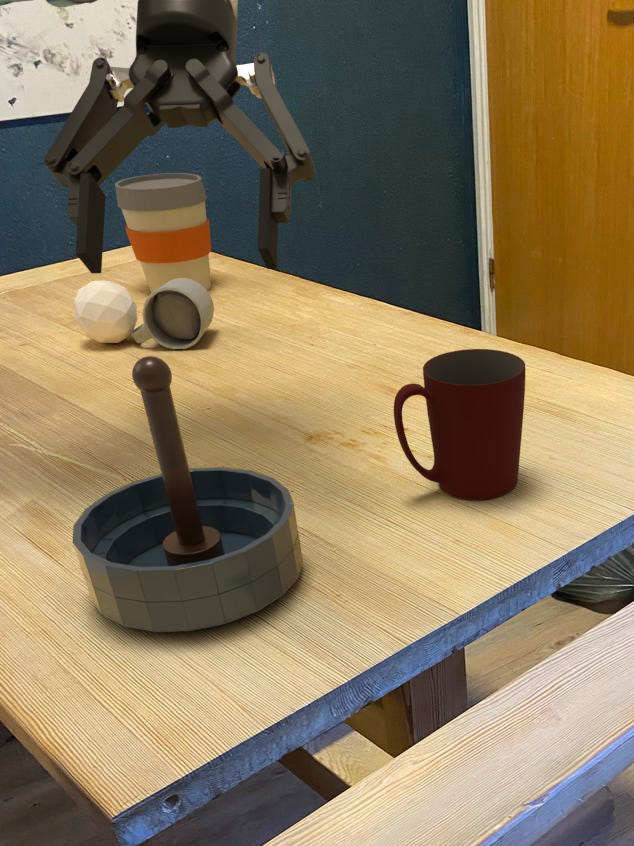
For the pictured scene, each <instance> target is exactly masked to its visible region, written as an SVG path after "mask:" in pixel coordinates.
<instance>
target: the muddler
mask: <svg viewBox="0 0 634 846" xmlns="http://www.w3.org/2000/svg"><path fill="white" fill-rule="evenodd" d="M131 378H132V382H133V383H134V385H135V387H136V388H137V389H138V390H139V391H140V395H141V398H142V402H143V406H144V409H145V415H146V418H147V423H148V426H149V430H150V431H149V432H150V434H151V439H152V443H153V446H154V450H155V451H154V452H155V454H156V458H157V462H158V467H159V471H160V474H162V478H163V482H164V486H165V490H166V494H167V498H168V502H169V506H170V510H171V514H172V518H173V522H174V526H175V530H176V531H175V532H173V533H171V534H169V535H168V536H167V537H166V538H165V539H164V541H163V549H164V553H165V556H166V560H167V564H168V566H177V565H183V564H188V563H194V562H199V561H205V560H210V559H213V558H216V557H219V556H222V555H225V552H224V548H223V543H222V539H221V534H220V533H219V531H218V530H216V529H214V528H212V527H208V526H202V523H201V518H200V514H199V510H198V505H197V501H196V497H195V492H194V488H193V484H192V479H191V475H190V471H189V469H190V467H189V462H188V458H187V455H186V450H185V445H184V440H183V436H182V432H181V429H180V424H179V420H178V415H177V411H176V407H175V402H174V398H173V394H172V389H171V384H172V381H173V373H172V370H171V368H170V366H169V365H168V364H167V362H165V360H163V359H162V358H160V357H157V356H154V355H147V356H144V357H141V358H140V359H138V360H137V361H136V362H135V364H133V367H132V370H131Z"/></svg>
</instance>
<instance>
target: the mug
mask: <svg viewBox="0 0 634 846" xmlns="http://www.w3.org/2000/svg"><path fill="white" fill-rule="evenodd" d="M422 376H423V385H421V384H418V383H408V384H407V383H406V384H405V385H403V386H401V388H399V390H397V392H396V394H395V397H394V400H393V420H394V421H393V422H394V425H395V426H394V427H395V430H396V431H395V432H396V435H397V438H398V442H399V444H400V446H401V449H402V451H403V453H404V455H405V457H406V459H407V461H408V462H409V464H410V465H411V466H412V467H413V468H414V470H416V472H418V474H419V475H421V476H422V477H424V478H425V479H426V480H428V481H430V482H433V483H437V484H438V486H439V489H440V490H441V491H442V492H444V493H446V494H447V495H449V496H451V497H454V498H458V499H463V500H473V501H475V500H476V501H477V500H489V499H494V498H498V497H501V496H504V495H506V494H508V493H510V492H511V491H512V490H514V489H515V488H516V486H517V485H518V480H519V471H520V460H521V459H520V458H521V448H522V447H521V446H522V434H523V423H524V409H525V397H526V362H525V361H524V359H522V358H521V357H520V356H518V355H516V354H513V353H511V352H507V351H503V350H498V349H488V348H469V349H458V350H454V351H448V352H445V353H444V352H443V353H441V354H438V355H436V356H433V357H432V358H430V359H428V360H427V361H426V362H425V363H424V364H423V366H422ZM414 396H421V397H423V398H424V399H425V404H426V410H427V417H428V418H427V420H428V424H429V431H430V439H431V445H432V452H433V465H432V467H431V468H430V469H427V468H425V467H424V466H422V464H420V463H419V461H418V460H417V459H416V457H415V456H414V453H413V452H412V450H411V447H410V445H409V442H408V439H407V435H406V433H405V427H404V421H403V407H404V404H405V403H406V401H407V400H408V399H409V398H411V397H414Z"/></svg>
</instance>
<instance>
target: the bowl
mask: <svg viewBox="0 0 634 846" xmlns="http://www.w3.org/2000/svg"><path fill="white" fill-rule="evenodd" d="M189 471H190V475H191V479H192V484H193V488H194V492H195V497H196V501H197V505H198V510H199V514H200V518H201V523H202V526H208V527H212V528H214V529H216V530H218V531H219V533H220V534H221V539H222V543H223V548H224V552H225V555H222V556H219V557H216V558H213V559H210V560H205V561H199V562H194V563H188V564H183V565H177V566H168V564H167V560H166V556H165V553H164V549H163V541H164V539H165V538H166V537H167V536H168V535H169V534H171V533H173V532H175V531H176V530H175V526H174V522H173V518H172V514H171V510H170V506H169V502H168V498H167V494H166V490H165V486H164V482H163V478H162V474H161V473H158V474H155V475H151V476H148V477H145V478H142V479H138V480H134V481H132V482H129V483H127V484H125V485H122V486H120V487H118V488H115V489H114V490H111V491H110V492H108V493H106V494H104V495H102V496H101V497H99V498H98V499H97V500H96V501H94V502H93V503H92V504H90V505H89V506H87V507H86V508H84V510H83V511H82V513H81V514H80V516H79V517H78V518H77V520H76V521H75V522H74V524H73V527H72V545H73V548H74V551H75V554H76V557H77V560H78V563H79V566H80V570H81V573H82V576H83V579H84V581H85V585H86V587H87V588H86V589H87V590H88V593H89V596H90V600H91V602H92V603H93V605H94V606H95V607H96V608H97V610H98V611H99V613H100V614H101V615H102V616H103V617H104V618H107V619H109V620H110V621H113V622H115V623H117V624H118V625H121V626H122V627H125V628H130V629H134V630H135V629H136V630H142V631H146V632H154V633H171V632H173V633H174V632H176V633H177V632H192V631H199V630H200V631H201V630H205V629H210V628H215V627H219V626H222V625H223V626H224V625H226V624H229V623H232V622H236V621H238V620H240V619H243V618H245V617H248V616H249V615H252V614H255V613H257V612H259V611H261V610H263V609H264V608H266V607H267V606H269V605H270V604H272V603H273V602H275V601H277V600H278V599H280V598H281V597H283V596H284V595H285V594H286V593H287V592H288V590H289V589H291V587H292V586H293V585H294V584H295V582H297V580H298V579H299V575H300V573H301V568H302V565H303V562H304V559H303V552H302V546H301V541H300V534H299V528H298V521H297V516H296V509H295V504H294V501H293V498H292V496H291V495H292V494H291V493H290V490H289V489H288V488H287V487H286V486H285V485H283V484H282V483H281V482H280V481H278V480H277V479H276V478H274V477H272V476H268V475H266V474H263V473H261V472H260V473H259V472H257V471H254V470H249V469H243V468H234V467H224V466H219V467H216V466H215V467H192V468H189Z"/></svg>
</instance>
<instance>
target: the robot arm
mask: <svg viewBox="0 0 634 846" xmlns="http://www.w3.org/2000/svg"><path fill="white" fill-rule="evenodd" d="M31 1H33V0H0V7H1V6H5V5H9V4H13V3H20V2H31ZM45 1H46V2H47V4H49V5H50V6H52V7H55V8H68V7H72V6H75V5H76V6H78V5H83V4H84V5H85V4H90V5H91V4H93V3H96V2H98V0H45ZM238 6H239V0H137V6H136V7H137V9H136V23H135V24H136V25H135V58H134V60H133V61H132V63H131V64H130V66H129V67H118V66H111V65H110V63H109V61H108V59H106V58H105V57H100V56H99V57H97V58H95V59H94V60H93V62H92V65H91V70H90V76H89V81H88V84H87V85H86V87H85V89H84V91H83V92H82V94H81V96H80V98H79V99H78V100H77V102H76V104H75V106H74V108H73V109H72V111H70V112H71V113H70V114H69V116H68V117H67V119H66V121H65V123H64V124H63V126H62V127H61V129H60V131H59V132H58V134H57V136H56V138H55V139H54V140H53V143H52V144H51V145H50V147H49V149H48V150H47V152H46V154H45V155H44V158H43V163H44V165H45V167H46V168H47V169H48V171H49V172H50V173H51V175H52V176H53V178H54V179H55V180H56V181H57V183H58V184H59V186H61V187H62V188H68V190H67V191H68V192H67V193H68V194H67V206H66V207H67V208H66V209H67V210H66V212H67V215H68V218H69V220H71V222H72V223H73V224H74V226H75V227H76V241H75V244H76V245H75V255H76V256H77V257H78V259H79V260H80V261H81V262H82V264H83V265H84V266H85V267H86V269H87V271H89V272H90V273H91V274H92V275H93V274H102V270H103V269H102V268H103V251H104V231H105V217H106V216H105V215H106V214H105V213H106V195H105V193H104V191H103V189H101V187H100V186H101V185H102V184H103V183H104V182H105V181H107V180H108V178H109V177H110V176H111V175H112V174H113V172H115V170H117V168H118V167H120V166H121V165H122V163H123V162H124V161H125V160H126V159H127V158H128V157H129V156H130V155H131V154H132V153H133V152H134V150H135V149H137V148H138V146H140V144H141V143H142V142H143V141H144V140H145V139H146V138H147V137H150V138H152V137H155V135H156V134H157V133H158V132H159V131H160V130H161V129H162V128H163V127H164V126H165V125H167V128H168V129H178V128H182V127H186V126H192V127H195V128H196V127H197V128H208V127H209V124H211V123H212V122H214V121H216V122H217V123H218V124H219V125H220V126H221V127H222V128H223V129H224V130H225V132H226V133H227V134H229V135H232V137H233V138H234V139H235V141H237V143H239V144H240V146H242V147H243V149H244V150H245V151H246V152H247V153H248V154H249V155H250V156H251V157H252V158H253V159H254V160H255V162H256V163H257V164H258V165H259V166H260V167H261V168H259V194H258V195H259V198H258V228H257V229H258V231H257V233H258V235H257V250H258V252H259V255H260V257H261V259H262V261H263V263H264V265H265V267H266V269H267V270H277V269H278V247H279V246H278V244H279V243H278V242H279V241H278V240H279V224H289V223H290V220H291V218H292V200H293V199H292V197H293V195H292V194H293V192H292V191H293V186H294V184H295V183H297V182H299V181H301V180H302V179H303V180H305V181H308V182H309V181H313V180H314V179H315V178H316V177H317V170H316V166H315V162H314V160H313V156H312V154H311V150H310V148H309V146H308V144H307V142H306V141H305V139H304V137H303V134H302V132H301V131H300V129H299V127H298V126H297V123H296V122H295V120H294V118H293V117H292V114H291V113H290V111H289V109H288V107H287V105H286V103H285V102H284V100H283V98H282V96H281V94H280V92H279V90H278V82H277V79H276V75H275V72H274V70H273V67H272V63H271V61H270V58H269V55H268V54H267V53H266V52H258V53H256V54H255V55H254V56H253V59H252V62H251V63H243V64H237V48H238V47H237V46H238V22H237V21H238ZM242 86H246V87H247V88H248V90H249V91H250V93H251V94H252V95H253V96H255V97H256V98H258V99H262V103H263V106H264V108H265V110H266V112H267V115H268V117H269V118H270V120H271V122H272V124H273V125H274V128H275V129H276V132H277V133H278V135H279V137H280V139H281V141H282V142H283V144H284V146H285V149H286V150H287V152H288V153H289V154H287V155H285V153H284V151H283V149H281V150H279V149H278V148H277V147H276V146H275V144H274V143H273V142H271V140H270V139H269V138H268V137H267V136H266V135H265V134H264V133H263V132H262V130H261V129H259V128H258V126H257V125H256V124H255V123H254V122H253V120H251V119H250V117H248V116H247V115H246V113H245V112H244V111H243V110H242V109H241V108H240V107H239V106H238V105H237V104H236V102H235V101H234V98H235V97H236V96H237V94H238V93H239V91H240V90H241V88H242ZM128 90H129V92H128V93H126V92H127V91H128ZM125 94H126V95H125ZM118 103H123V105H122V107H120V108H119V110H118V111H117V112H116V110H117V108H118ZM145 106H146V107H147V108H148V109H149V110H150V112H149V113H147V111H146V109H145Z"/></svg>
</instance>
